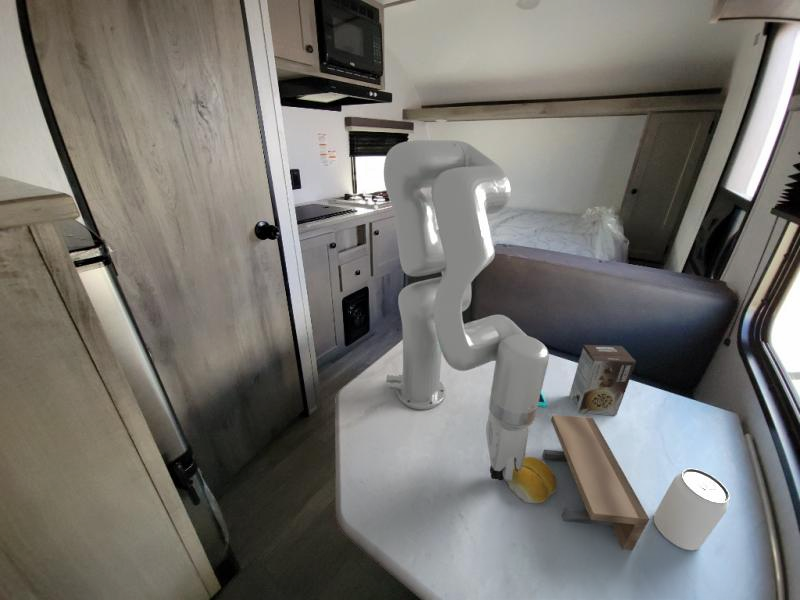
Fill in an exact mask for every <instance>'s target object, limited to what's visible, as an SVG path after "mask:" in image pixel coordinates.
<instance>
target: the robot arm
mask: <svg viewBox="0 0 800 600" xmlns="http://www.w3.org/2000/svg"><path fill="white" fill-rule="evenodd" d="M383 181H384V186H385V190H386V194H387V197H388V199H389V202H390V205H391V207H392V211H393V215H394V220H395V231H396V238H397V239H396V240H397V247H398V253H399V254H398V255H399V260H400V261H399V262H400V266H401V269H402V271H403V272H404V274H406V275H407V276H410V277H422V276H428V275H432V274H437V273H438V274H439V273H441V276H439V277H434V278H428V279H424V280H420V281H417V282H413V283H410V284H408V285H407V286H405V287H403V288H402V289H401V290H400V292H399V294H398V298H397V301H398V302H397V304H398V310H399V314H400V318H401V326H402V327H401V328H402V374H398V375H393V374H391V375H390V374H387V375H386V381H385V382H386V383H389V388H390V389H396V393H397V398H398V399H399V401H400V402H401V403H402V404H403V405H405V406H407V407H409V408H411V409H413V410H414V409H415V410H422V411H424V410H431V409H433V408H436V407H437V406H439V405H441V403H442V402H443V401H444V399H445V394H446V389H445V386H444V384H443V383H442V382H441V381H440V380H441V364H442V356H443V358H444V360H445V362H446V363H447V364H448V365H449V366H450V367H451V368H452V369H454V370H457V371H461V372H466V371H469V370H473V369H476V368H479V367H480V366H484V365H485V364H488V363H491V362H495V365H494V370H493V377H492V383H491V389H490V397H489V404H488V411H489V413H488V416H487V420H486V421H487V422H486V425H485V426H486V427H485V428H486V429H485V430H486V431H485V432H486V440H487V449H488V454H489V461H490V469H489V472H490V479H492V480H497V481H507V480H509V481H512V476H513V467H514V466H515V470H516V471H517V473H518V472H520V470H521V468H522V465H523V462H524V457H526V456H525V455H526V449H527V444H528V437H529V429H530V428H529V427H530V426H532V424H533V423H534V421H535V418H536V414H537V410H538V407H539V406H538V402H539V398H540V394H541V391H542V389H543V385H544V381H545V377H546V374H547V373H546V372H547V369H548V365H549V360H550V354H549V350H548V348H547V346H545V344H544V343H543V342H541V341H540V340H539V339H537V338H535V337H532V336H529V335H527V334H526V333H525V332H524V331H523V330H522V329H521V328H520V327H519V326H518V325H517V324H516V323H515V322H514V321H513V320H511V318H509V317H508V316H506V315H504V314H492V315H489V316H486V317H485V316H484V317H483V318H480V319H476V320H472V321H469V322H467V323H464V320H463V319H464V318H463V312H465V311H466V310H467V309H468V308H469V307H470V305H471V302H472V282H473V281H474V279H475V278H476V277H477V276H478V275H479V274H480V273H481V272H482V271H483V270H484V269H485V268H486V267H488V266H489V265H490V264H491V262H492V261H494V258H495V255H496V250H495V245H494V242H493V236H492V233H491V227H490V222H489V218H488V215H495V214H498V213H500V212H502V211H503V210H504V209H505V208H506V206H507V205H508V204H509V202H510V198H511V194H512V193H511V191H512V189H511V183H510V180H509V177H508V176H507V174H506V173H505V171H504V170H503V169H502V167H500V166H499V165H498V164H497V163H496V162H495V161H493V160H492V159H491V158H490V157H488V156H487V155H485V154H484V153H483V152H481V151H480V150H478V149H477V148H475V146H472V144H470V143H468V142H467V141H466V142H465V141H461V140H432V139H431V140H429V139H428V140H427V139H425V140H423V139H422V140H421V139H420V140H408V141H403V142H399V143H397V144H395V145H394V146H392V147H391V148H390V149H389V150H388V152H387V153H386V156H385V159H384V164H383ZM427 188H428V189H429V188H430V189H431V190H430V193H431V200H432V202H431V201H430V200H429V198H428V197H427V195H425V193H423V191H422V190H421V189H427ZM431 203H432V204H433V205H432V204H431ZM435 221H436V222H435ZM436 224H437V226H436ZM437 228H438V229H437Z"/></svg>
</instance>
